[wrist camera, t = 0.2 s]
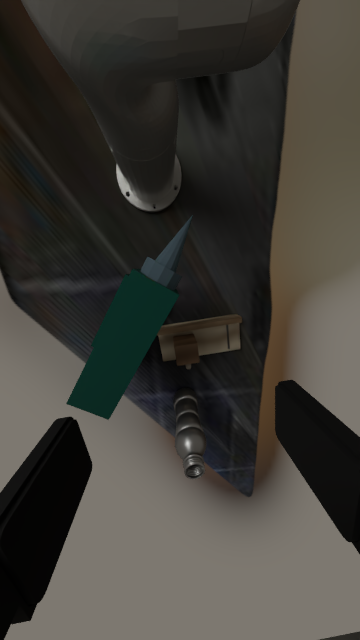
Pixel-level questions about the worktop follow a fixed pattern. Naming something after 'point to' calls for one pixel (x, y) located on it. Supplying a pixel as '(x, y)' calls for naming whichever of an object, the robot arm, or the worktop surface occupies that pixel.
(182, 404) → the plastic bottle
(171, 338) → the board
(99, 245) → the worktop surface
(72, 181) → the worktop surface
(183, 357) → the brown block with knob
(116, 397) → the power tool
